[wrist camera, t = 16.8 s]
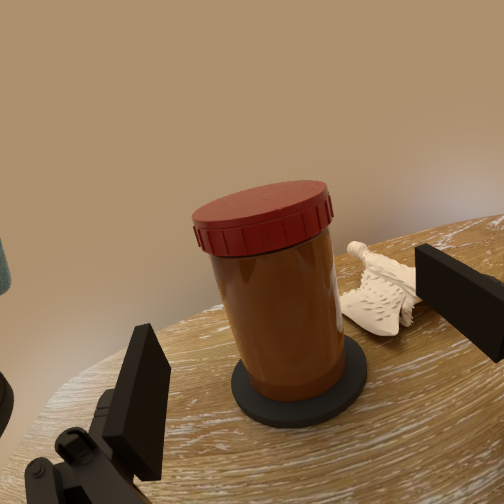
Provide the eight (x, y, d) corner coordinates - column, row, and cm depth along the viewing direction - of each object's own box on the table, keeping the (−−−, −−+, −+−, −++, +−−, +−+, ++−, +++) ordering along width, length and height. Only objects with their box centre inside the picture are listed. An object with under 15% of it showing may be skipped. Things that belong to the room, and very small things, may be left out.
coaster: (241, 444, 17) (237, 437, 16) (229, 354, 26) (226, 347, 25) (389, 397, 17) (390, 389, 17) (339, 322, 26) (338, 315, 26)
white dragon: (516, 324, 18) (525, 278, 16) (434, 396, 16) (443, 346, 14) (387, 259, 34) (384, 225, 33) (311, 291, 32) (304, 254, 31)
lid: (197, 271, 14) (185, 234, 14) (201, 228, 21) (194, 203, 21) (356, 228, 15) (351, 191, 14) (310, 200, 22) (305, 175, 21)
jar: (254, 414, 18) (195, 240, 14) (243, 350, 25) (200, 210, 21) (361, 381, 18) (344, 202, 14) (328, 326, 25) (303, 183, 21)
